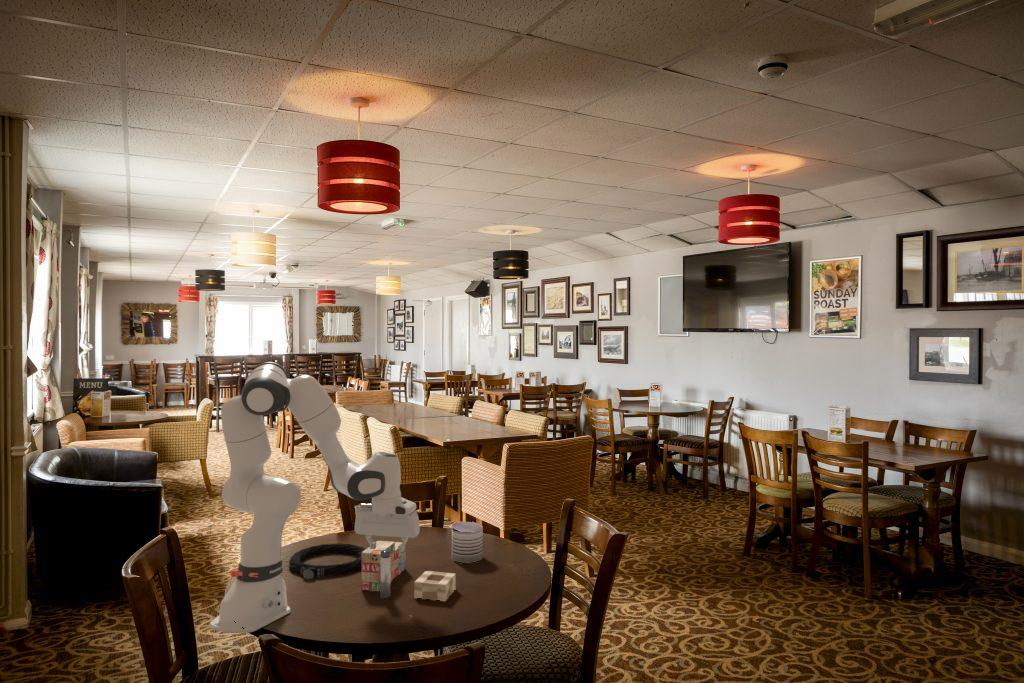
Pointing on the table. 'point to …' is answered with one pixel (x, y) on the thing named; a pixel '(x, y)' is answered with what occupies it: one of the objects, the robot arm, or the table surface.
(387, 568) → the silver metal rod
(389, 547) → the stack of blocks
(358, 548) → the cable lock
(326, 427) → the robot arm
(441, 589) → the light wooden square frame
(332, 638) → the table surface
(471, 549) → the can
